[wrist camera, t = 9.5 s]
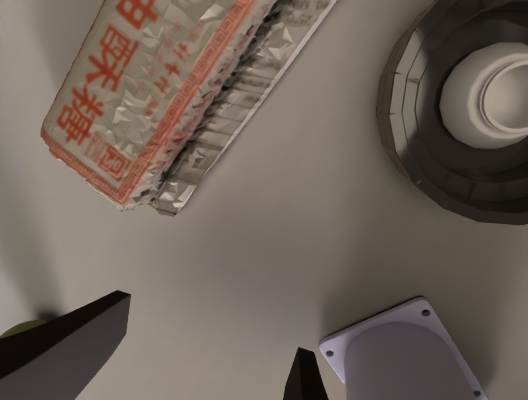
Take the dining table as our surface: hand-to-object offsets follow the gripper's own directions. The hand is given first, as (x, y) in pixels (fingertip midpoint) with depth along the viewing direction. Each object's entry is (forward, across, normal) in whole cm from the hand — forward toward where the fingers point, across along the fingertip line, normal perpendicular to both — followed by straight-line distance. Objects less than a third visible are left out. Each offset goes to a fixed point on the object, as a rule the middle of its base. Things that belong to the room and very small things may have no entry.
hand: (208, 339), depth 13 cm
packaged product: (+10, +6, -11) cm, 16 cm away
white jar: (+9, -10, -12) cm, 18 cm away
